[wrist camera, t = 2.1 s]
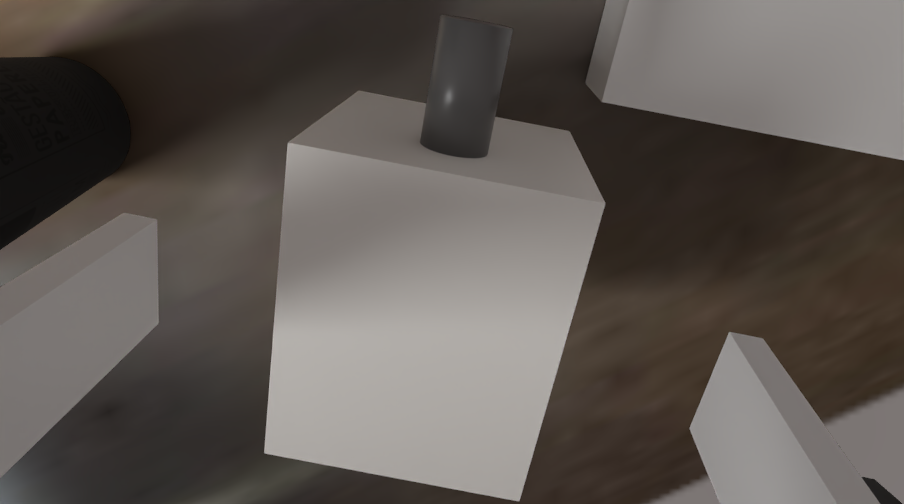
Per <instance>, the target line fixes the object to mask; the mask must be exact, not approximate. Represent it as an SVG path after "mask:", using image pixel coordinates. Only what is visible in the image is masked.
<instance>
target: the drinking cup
mask: <svg viewBox="0 0 904 504" xmlns="http://www.w3.org/2000/svg"><path fill="white" fill-rule="evenodd" d="M129 145H130V124H129V119H128V116H127V113H126V110H125V108H124V105H123V103H122V101H121V99H120V98H119V96H118V95H117V93H116V92H115V90H114V89H113V88H112V87H111V86H110V84H109V83H108V82H107V81H106V80H105V79H104V78H103V77H101V76H100V75H99V74H98V73H96V72H95V71H94V70H92V69H91V68H89V67H87V66H85V65H83V64H81V63H79V62H76V61H74V60H70V59H66V58H60V57H12V58H0V250H1V249H2V248H3V247H5V246H6V245H8V244H9V243H11V242H12V241H14V240H15V239H17V238H18V237H20V236H21V235H23V234H24V233H26V232H27V231H28V230H30V229H31V228H33V227H34V226H36V225H37V224H39V223H40V222H42V221H43V220H45V219H46V218H48V217H49V216H51V215H52V214H53V213H55V212H56V211H58V210H59V209H61V208H62V207H64V206H65V205H67V204H68V203H70V202H71V201H73V200H74V199H76V198H77V197H78V196H80V195H81V194H83V193H84V192H86V191H87V190H89V189H90V188H92V187H93V186H95V185H96V184H98V183H99V182H101V181H102V180H103V179H105V178H106V177H108V176H109V175H111V174H112V173H113V172H115V171H116V170H117V169H118V168H119V167H120V165H121V164H122V163H123V161H124V159H125V157H126V155H127V152H128V149H129Z"/></svg>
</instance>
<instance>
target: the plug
mask: <svg viewBox="0 0 904 504" xmlns="http://www.w3.org/2000/svg"><path fill="white" fill-rule="evenodd" d="M512 33H513V28H510V27H507V26H503V25H499V24H494V23H490V22H485V21H480V20H475V19H469V18H464V17H457V16H451V15H440V20H439V26H438V33H437V39H436V45H435V51H434V58H433V64H432V70H431V76H430V83H429V89H428V95H427V101H426V103H421V102H416V101H411V100H406V99H401V98H395V97H390V96H385V95H380V94H375V93H369V92H364V91H357V92H356V93H355V94H353V95H352V96H350V97H349V98H348V99H346V100H345V101H344V102H342V103H341V104H340V105H338V106H337V107H335V108H334V109H333V110H331V111H330V112H329V113H327V114H326V115H325V116H323V117H322V118H320V119H319V120H318V121H316V122H315V123H314V124H312V125H311V126H310V127H308V128H307V129H305V130H304V131H303V132H301V133H300V134H299V135H297V136H296V137H294V138H293V139H292V140H290V141H289V142H288V145H287V158H286V171H285V185H284V198H283V211H282V224H281V237H280V250H279V264H278V277H277V290H276V303H275V316H274V329H273V343H272V356H271V369H270V382H269V395H268V408H267V422H266V435H265V448H264V453H265V454H270V455H275V456H281V457H286V458H291V459H297V460H302V461H307V462H313V463H318V464H323V465H328V466H334V467H339V468H344V469H350V470H355V471H360V472H365V473H371V474H376V475H381V476H387V477H392V478H397V479H403V480H408V481H413V482H418V483H424V484H429V485H434V486H440V487H445V488H450V489H455V490H461V491H466V492H471V493H477V494H482V495H487V496H493V497H498V498H503V499H508V500H514V501H520V497H521V494H522V490H523V487H524V484H525V480H526V477H527V473H528V470H529V466H530V463H531V459H532V456H533V452H534V449H535V446H536V442H537V439H538V435H539V432H540V428H541V425H542V421H543V418H544V414H545V411H546V407H547V404H548V401H549V397H550V394H551V390H552V387H553V383H554V380H555V376H556V373H557V369H558V366H559V362H560V359H561V356H562V352H563V349H564V345H565V342H566V338H567V335H568V331H569V328H570V324H571V321H572V318H573V314H574V311H575V307H576V304H577V300H578V297H579V293H580V290H581V286H582V283H583V279H584V276H585V273H586V269H587V266H588V262H589V259H590V255H591V252H592V248H593V245H594V241H595V238H596V235H597V231H598V228H599V224H600V221H601V217H602V214H603V210H604V207H605V201H604V199H603V197H602V195H601V193H600V191H599V189H598V187H597V185H596V183H595V181H594V179H593V177H592V175H591V173H590V171H589V169H588V167H587V165H586V163H585V161H584V159H583V157H582V155H581V153H580V151H579V149H578V147H577V145H576V143H575V141H574V139H573V137H572V135H571V133H570V131H567V130H562V129H556V128H551V127H546V126H541V125H536V124H530V123H525V122H520V121H515V120H510V119H504V118H499V117H495V116H496V111H497V106H498V101H499V96H500V91H501V86H502V82H503V77H504V72H505V67H506V62H507V57H508V52H509V47H510V42H511V38H512Z"/></svg>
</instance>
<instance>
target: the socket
mask: <svg viewBox="0 0 904 504" xmlns="http://www.w3.org/2000/svg"><path fill="white" fill-rule="evenodd" d="M585 84H586V85H587V86H588V87H589V88H590V90H591V91H592V92H593V93H594V94H595V95H596V96H597V97H598V98H599V99H600V101H601V102H604V103H610V104H615V105H620V106H625V107H630V108H636V109H641V110H646V111H651V112H656V113H662V114H667V115H672V116H677V117H682V118H687V119H693V120H698V121H703V122H708V123H713V124H719V125H724V126H729V127H734V128H739V129H744V130H750V131H755V132H760V133H765V134H770V135H776V136H781V137H786V138H791V139H796V140H801V141H807V142H812V143H817V144H822V145H827V146H833V147H838V148H843V149H848V150H853V151H858V152H864V153H869V154H874V155H879V156H884V157H890V158H895V159H900V160H904V0H606V3H605V7H604V11H603V15H602V19H601V22H600V26H599V30H598V34H597V38H596V42H595V46H594V50H593V54H592V58H591V62H590V66H589V69H588V73H587V77H586V81H585Z"/></svg>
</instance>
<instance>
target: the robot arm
mask: <svg viewBox="0 0 904 504" xmlns="http://www.w3.org/2000/svg"><path fill="white" fill-rule="evenodd" d="M158 324H159V312H158V240H157V219H154V218H148V217H143V216H138V215H133V214H128V213H123V214H121V215H119V216H118V217H116V218H114V219H113V220H111V221H109V222H108V223H106V224H104V225H103V226H101V227H99V228H98V229H96V230H94V231H93V232H91V233H89V234H88V235H86V236H84V237H83V238H81V239H79V240H78V241H76V242H74V243H73V244H71V245H70V246H68V247H66V248H65V249H63V250H61V251H60V252H58V253H56V254H55V255H53V256H51V257H50V258H48V259H46V260H45V261H43V262H41V263H40V264H38V265H36V266H35V267H33V268H31V269H30V270H28V271H26V272H25V273H23V274H21V275H20V276H18V277H16V278H15V279H13V280H11V281H10V282H8V283H6V284H5V285H3V286H1V287H0V478H1V477H2V476H3V475H4V474H5V473H6V472H7V471H8V470H9V469H10V468H11V467H12V466H13V465H14V464H15V463H16V462H17V461H18V460H20V459H21V458H22V457H23V456H24V455H25V454H26V453H27V452H28V451H29V450H30V449H31V448H32V447H33V446H34V445H35V444H36V443H37V442H38V441H39V440H40V439H41V438H42V437H43V436H44V435H45V434H46V433H47V432H48V431H49V430H50V429H51V428H52V427H53V426H54V425H55V424H56V423H57V422H58V421H59V420H60V419H61V418H62V417H64V416H65V415H66V414H67V413H68V412H69V411H70V410H71V409H72V408H73V407H74V406H75V405H76V404H77V403H78V402H79V401H80V400H81V399H82V398H83V397H84V396H85V395H86V394H87V393H88V392H89V391H90V390H91V389H92V388H93V387H94V386H95V385H96V384H97V383H98V382H99V381H100V380H101V379H102V378H103V377H104V376H105V375H106V374H108V373H109V372H110V371H111V370H112V369H113V368H114V367H115V366H116V365H117V364H118V363H119V362H120V361H121V360H122V359H123V358H124V357H125V356H126V355H127V354H128V353H129V352H130V351H131V350H132V349H133V348H134V347H135V346H136V345H137V344H138V343H139V342H140V341H141V340H142V339H143V338H144V337H145V336H146V335H147V334H148V333H149V332H150V331H152V330H153V329H154V328H155V327H156V326H157V325H158ZM689 429H690V431H691V434H692V436H693V439H694V441H695V444H696V446H697V449H698V451H699V454H700V456H701V459H702V461H703V464H704V466H705V469H706V471H707V474H708V476H709V479H710V481H711V483H712V486H713V488H714V491H715V493H716V496H717V498H718V501H719V503H720V504H902V503H901V502H900V501H899V500H898V499H896V498H895V497H894V496H893V495H892V494H891V493H889V492H888V491H887V490H886V489H885V488H884V487H882V486H881V485H880V484H879V483H878V482H877V481H876V480H874V479H869V478H865V477H861V476H860V475H859V473H858V472H857V470H856V469H855V467H854V466H853V465H852V463H851V462H850V460H849V459H848V458H847V456H846V455H845V453H844V452H843V451H842V449H841V448H840V446H839V445H838V444H837V442H836V441H835V440H834V438H833V437H832V435H831V434H830V433H829V431H828V429H827V428H826V427H825V425H824V424H823V422H822V421H821V420H820V418H819V417H818V415H817V414H816V413H815V411H814V410H813V408H812V407H811V406H810V404H809V403H808V401H807V400H806V399H805V397H804V396H803V394H802V393H801V391H800V390H799V389H798V387H797V386H796V384H795V383H794V382H793V380H792V379H791V377H790V376H789V375H788V373H787V372H786V370H785V369H784V368H783V366H782V365H781V363H780V362H779V360H778V359H777V358H776V356H775V355H774V353H773V352H772V351H771V349H770V348H769V346H768V345H767V344H766V342H765V341H764V339H763V338H758V337H753V336H748V335H743V334H738V333H733V332H729V334H728V336H727V338H726V341H725V343H724V346H723V348H722V351H721V353H720V355H719V358H718V360H717V363H716V365H715V368H714V370H713V372H712V375H711V377H710V380H709V382H708V384H707V387H706V389H705V392H704V394H703V397H702V399H701V401H700V404H699V406H698V409H697V411H696V414H695V416H694V418H693V421H692V423H691V426H690V428H689Z"/></svg>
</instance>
